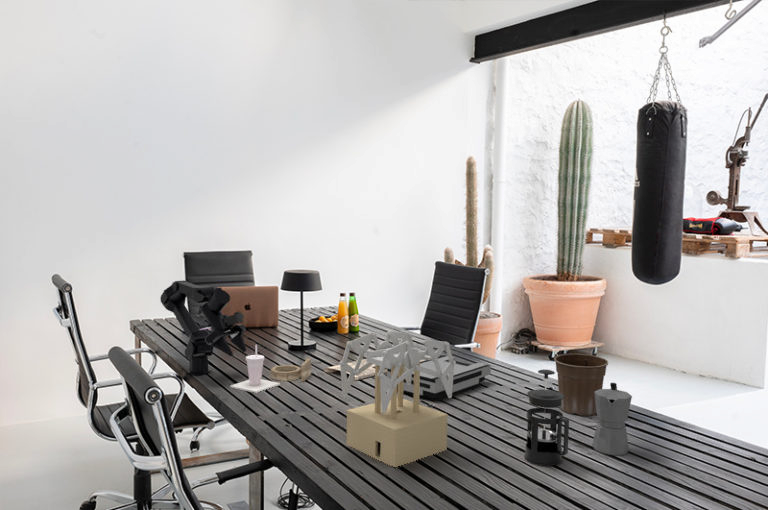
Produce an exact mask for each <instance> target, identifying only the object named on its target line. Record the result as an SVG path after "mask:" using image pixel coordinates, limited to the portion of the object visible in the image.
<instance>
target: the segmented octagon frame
mask: <svg viewBox="0 0 768 510" xmlns="http://www.w3.org/2000/svg"><path fill="white" fill-rule="evenodd" d="M310 376H312V358H311V357H310V358H307V359H305V361H304V362H302V364H301V366H297V365H294V364H290V365H289V364H283V365H277V366H276V365H275V366H273V367H271V368H270V379H272V378H273V380H274V379H275V380H274V381H277V380H281V381H280V382H291V381H296V379H297V380H300V382H301V381H305V380H307V379H308V378H309V377H310ZM305 382H306V381H305Z"/></svg>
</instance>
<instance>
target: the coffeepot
mask: <svg viewBox="0 0 768 510" xmlns="http://www.w3.org/2000/svg"><path fill="white" fill-rule="evenodd" d="M617 384H618V383H616V382H610V388H602V389H599V390H597V391H595V392H594V394H595V403H596V412H597V414H596V416H597V418H598V423H597V424H596V426H595V431H594V435H593V439H592V443H591V445H592V448H593V449H594V450H595V451H596V452H598V453H600V454H605V455H608V456H623V455H625V454H627V453H628V452H629V451H630V450H629V441H628V439H629V438H628V432H627V427H626V421H627V420H628V417H629V412H630V406H631V403H632V398H633V395H631V394H630V393H628V392H627V391H625V390H620V389H618V385H617Z"/></svg>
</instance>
